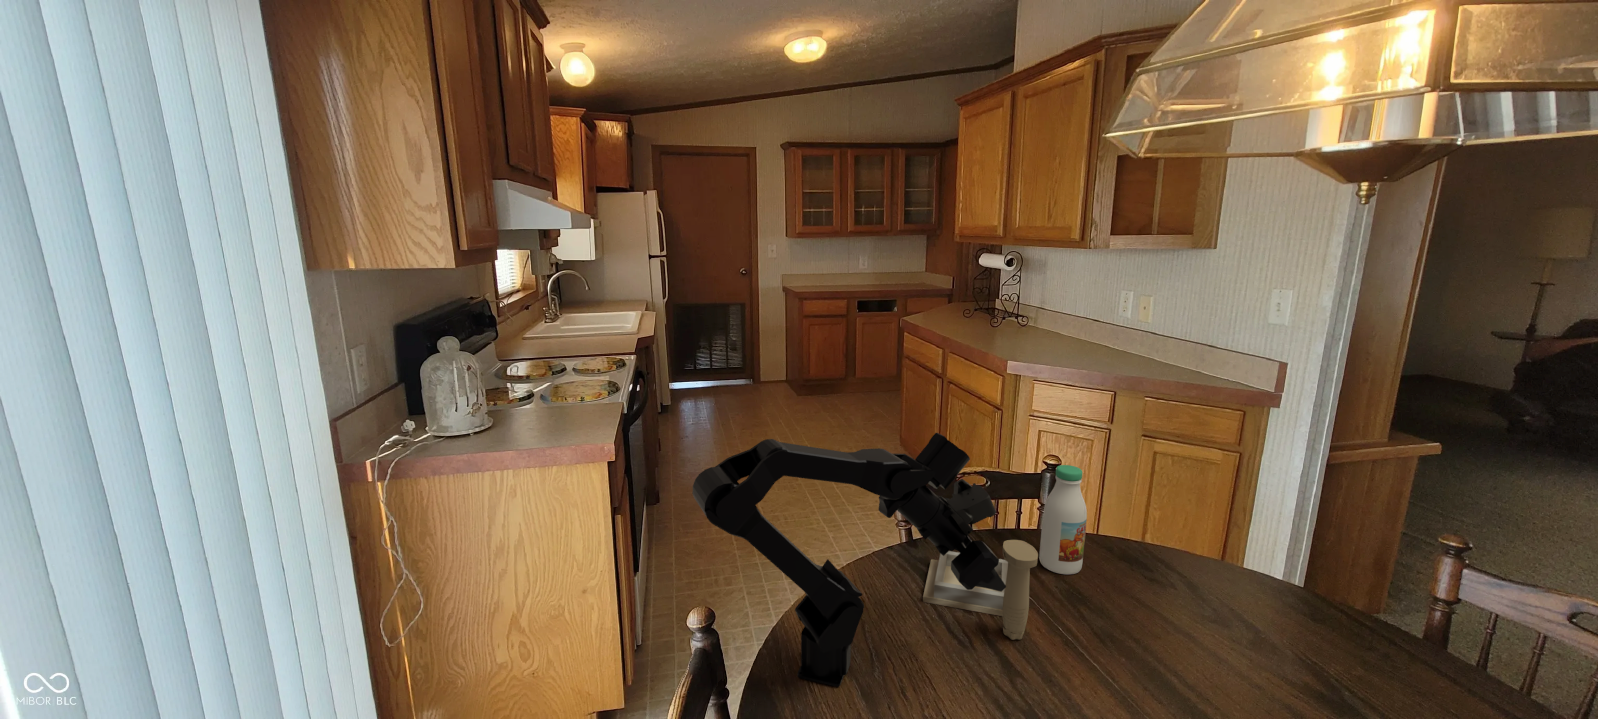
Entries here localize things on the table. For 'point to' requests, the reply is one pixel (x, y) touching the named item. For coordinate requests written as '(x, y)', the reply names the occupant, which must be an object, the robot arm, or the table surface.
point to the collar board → (962, 588)
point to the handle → (1017, 586)
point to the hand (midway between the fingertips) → (991, 571)
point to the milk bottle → (1064, 523)
